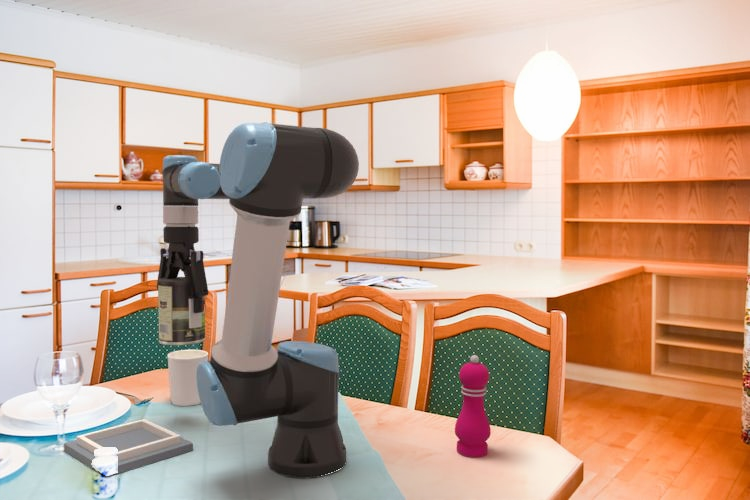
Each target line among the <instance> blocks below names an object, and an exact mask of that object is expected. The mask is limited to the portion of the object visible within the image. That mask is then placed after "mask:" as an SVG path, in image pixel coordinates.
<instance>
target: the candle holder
mask: <svg viewBox="0 0 750 500" xmlns="http://www.w3.org/2000/svg"><path fill="white" fill-rule="evenodd" d="M166 357H167V364H168V379H169V380H168V381H169V393H170V403H171V404H172V405H174V406H180V407H188V406H189V407H190V406H196V405H201V402H200V398H199V394H198V388H197V378H196V373H197V367H198V365H199V364H200V363H201V362H204V361H205V360H207V361H209V352H208V351H205V350H201V349H183V350H182V349H181V350H175V351H171V352H169V353H167V355H166Z"/></svg>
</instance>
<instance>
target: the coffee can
mask: <svg viewBox="0 0 750 500" xmlns="http://www.w3.org/2000/svg"><path fill="white" fill-rule="evenodd" d="M156 281H157V282H158V289H157V291H158V292H157V293H158V295H157V296H158V297H157V298H158V299H157V301H158V303H157V304H158V305H157V307H158V308H157V309H158V343H159V344H161V345H166V346H188V345H189V346H191V345H198V344H200V343H201V344H202V343H203V342H205V341H206V296H204V297H203V298H202V327H197V328H189V298H188V297H189V296H191V294H190V291H189V281H186V279H185V276H177V278H173V279H167V278H161V279H158V278H157V280H156ZM202 290H203V289H202Z"/></svg>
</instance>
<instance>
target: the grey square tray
mask: <svg viewBox="0 0 750 500" xmlns="http://www.w3.org/2000/svg"><path fill="white" fill-rule="evenodd" d="M102 447H116V448H117V449H118V452H117V456H118V474H122V473H125V472H128V471H131V470H134V469H138V468H140V467H145V466H147V465H151V464H154V463H157V462H160V461H162V460H167V459H170V458H172V457H176V456H180V455H183V454H186V453H189V452H192V451H194V442H192V441H189V440H187V439H185V438H183V437H182V436H181V435H180V434H177V433H176V432H173V431H171V430H169V429H167V428H165V427H163V426H160V425H158V424H156V423H154V422H151V421H150V420H147V419H146V418H142V419H138V420H134V421H131V422H130V421H129V422H127V423H123V424H119V425H115V426H111V427H107V428H104V429H100V430H99V429H98V430H96V431H92V432H89V433H88V432H87V433H83V434H80V435H77V436H76V440H73V441H69V442H64V443H63V451H64V452H66V454H68V455H70V456H72V457H73V458H74V459H76V460H78V461H79V462H82V463H83V464H85V465H86V466H87V467H89V468H91V469H92V465H91V463H92V460H93V459H94V458H95V456H94V450H95V449H98V448H102ZM118 474H117V475H118Z"/></svg>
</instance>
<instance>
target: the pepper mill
mask: <svg viewBox="0 0 750 500" xmlns="http://www.w3.org/2000/svg"><path fill="white" fill-rule="evenodd" d="M469 360H470V362H467V363H465V364H463V365H462V366H461V368H460V370H459V375H458V376H459V380H460V382H461V383H462V385H461V387H460V388H461V394H462V397H463V399H462V400H463V401H462V406H461V411H460V413H459V415H458V417H457V419H456V422H455V425H454V426H455V427H454V435H455V436H456V437H457V438H458V440H457V441H456V452H457V453H458V454H459V455H461V456H463V457H467V458H480V457H481V458H482V457H484V456H486V455H487V454H488V452H489V448H488V447H489V444H488V442H487V440H488V439H489V438H490V436H491V433H492V432H491V425H490V421H489V418H488V417H487V413H486V411H485V410H486V409H485V406H484V405H485V404H484V403H485V401H484V400H485V395H487V391H486V390H487V386H486V385H487V384H488V382H489V380H490V372H489V370H488V368H487V366H486V365H484V364H483V363H480V362H479V361H480V358H479V356H478V355H476V354H473V355H471V356H470V357H469Z"/></svg>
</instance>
